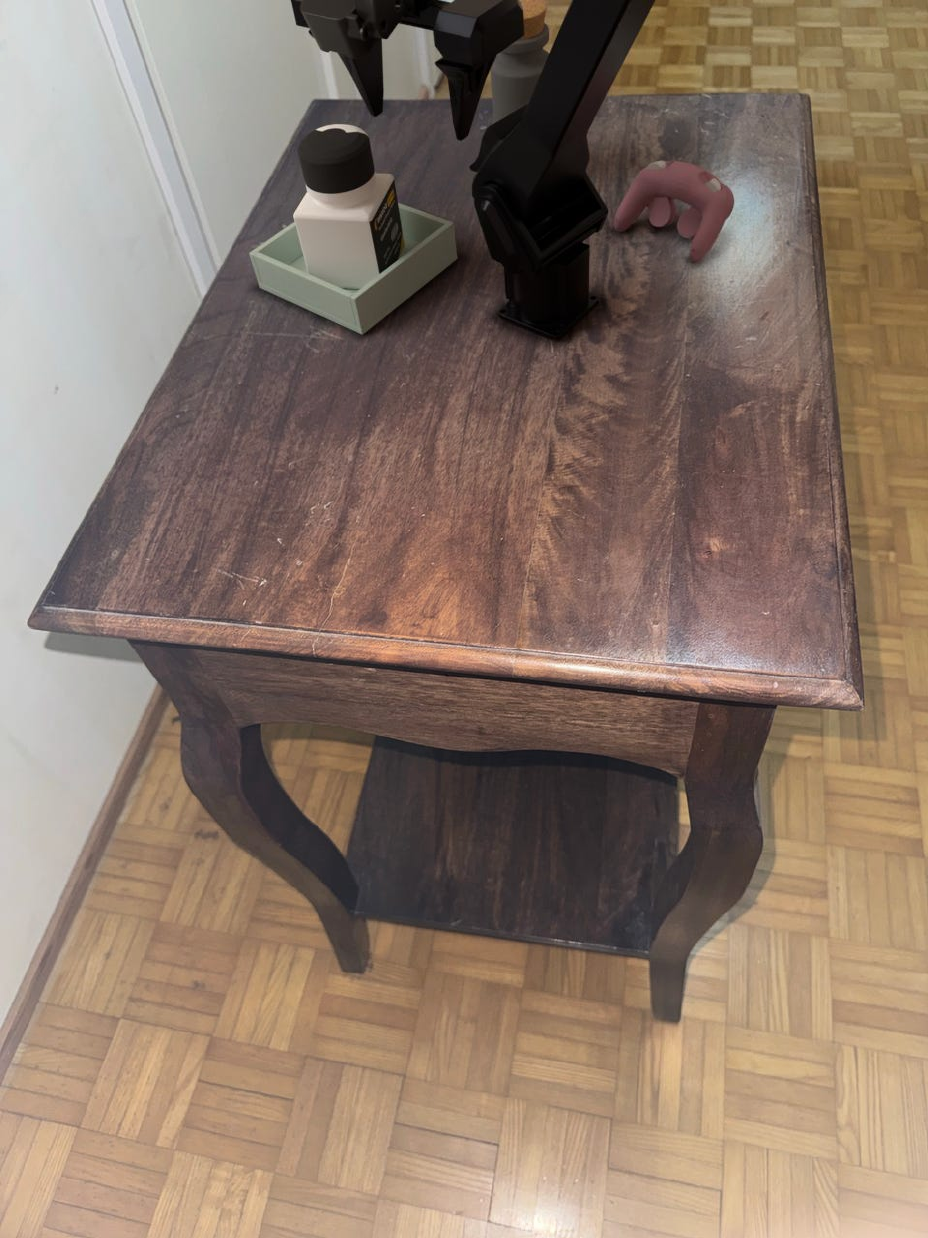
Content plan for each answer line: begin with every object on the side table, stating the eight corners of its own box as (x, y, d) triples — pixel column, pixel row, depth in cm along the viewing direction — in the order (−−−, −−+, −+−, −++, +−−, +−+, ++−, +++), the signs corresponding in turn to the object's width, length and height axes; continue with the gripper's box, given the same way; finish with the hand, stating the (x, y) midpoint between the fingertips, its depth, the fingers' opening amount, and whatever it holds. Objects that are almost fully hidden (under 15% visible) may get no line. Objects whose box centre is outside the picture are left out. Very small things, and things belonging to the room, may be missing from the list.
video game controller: (719, 263, 82) (750, 181, 79) (696, 265, 79) (726, 179, 75) (631, 229, 87) (656, 149, 83) (605, 229, 84) (630, 146, 80)
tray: (457, 258, 84) (453, 222, 81) (362, 334, 79) (354, 299, 76) (355, 219, 90) (347, 183, 87) (259, 287, 84) (248, 252, 82)
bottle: (567, 174, 91) (566, 5, 79) (520, 196, 89) (512, 27, 77) (532, 153, 94) (526, -13, 82) (486, 174, 92) (473, 8, 80)
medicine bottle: (384, 292, 81) (359, 159, 71) (310, 287, 83) (275, 156, 73) (406, 246, 85) (385, 114, 75) (335, 242, 87) (305, 113, 77)
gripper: (212, -80, 63) (272, 145, 76) (418, -44, 55) (447, 201, 68) (319, -132, 68) (359, 88, 80) (523, -107, 60) (532, 133, 73)
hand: (418, 126), depth 75 cm, fingers open, 9 cm apart
